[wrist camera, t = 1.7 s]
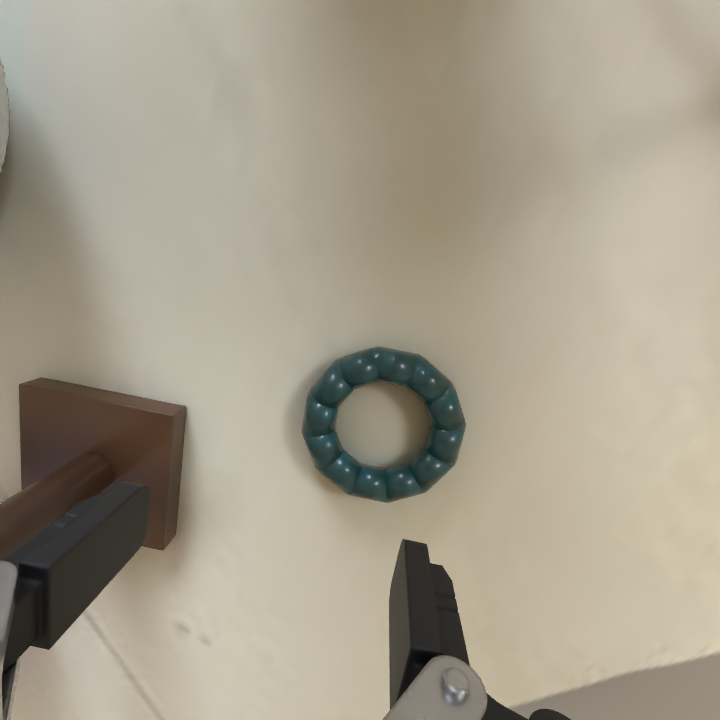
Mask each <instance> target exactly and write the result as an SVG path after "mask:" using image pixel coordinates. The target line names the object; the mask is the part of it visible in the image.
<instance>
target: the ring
mask: <svg viewBox="0 0 720 720" xmlns="http://www.w3.org/2000/svg"><path fill="white" fill-rule="evenodd" d="M378 381H380V382H385V383H391V384H396V385H401V386H405V387H406V388H408V389H409V390H410V391H411V392H412V393H413V394H415V395H416V396H417V397H418V398H419V399H420V400H422V401H423V402H424V404H425V407H426V410H427V413H428V416H429V419H430V422H431V427H430V432H429V436H428V440H427V444H426V446H425V447H424V448H423V449H422V450H421V451H420V452H419V453H418V454H417V455H416V456H415V457H414V458H413V459H412V460H411V461H410V462H409V463H406V464H402V465H399V466H395V467H392V468H388V469H382V468H377V467H372V466H367V465H362V464H360V463H359V462H358V461H357V460H355V459H354V458H353V457H352V456H350V455H349V454H348V453H347V452H346V451H344V450H343V448H342V446H341V443H340V441H339V438H338V436H337V433H336V430H335V424H336V418H337V413H338V407H339V406H340V405H341V404H342V402H343V401H344V400H345V399H346V398H347V397H348V396H349V395H350V394H351V392H352V391H353V390H354V389H356V388H360V387H363V386H366V385H369V384H372V383H375V382H378ZM465 427H466V423H465V419H464V416H463V412H462V409H461V406H460V403H459V400H458V396H457V393H456V390H455V387H454V385H453V383H452V382H451V381H450V380H449V379H447V378H446V377H445V376H444V375H443V374H442V373H441V372H439V371H438V370H437V369H436V368H435V367H434V366H433V365H431V364H430V363H429V362H428V361H427V360H426V359H424V358H423V357H422V356H420V355H417V354H413V353H408V352H402V351H397V350H392V349H387V348H382V347H374V348H371V349H368V350H365V351H362V352H359V353H356V354H353V355H350V356H347V357H344V358H341V359H338V360H337V361H335V362H334V363H333V364H332V365H331V366H330V367H329V368H328V370H327V371H326V372H325V373H324V374H323V375H322V377H321V378H320V379H319V380H318V381H317V382H316V383H315V385H314V386H313V387H312V388H311V389H310V391H309V393H308V396H307V401H306V407H305V413H304V420H303V426H302V434H303V438H304V440H305V442H306V445H307V447H308V450H309V452H310V455H311V457H312V460H313V462H314V465H315V467H316V469H317V470H318V471H319V472H320V473H321V474H322V475H324V476H325V477H326V478H327V479H329V480H330V481H331V482H332V483H334V484H335V485H336V486H337V487H339V488H340V489H341V490H342V491H344V492H345V493H346V494H348V495H351V496H356V497H361V498H365V499H370V500H375V501H380V502H386V503H388V502H393V501H397V500H400V499H404V498H408V497H411V496H415V495H418V494H422V493H425V492H427V491H428V490H429V489H430V488H431V487H432V486H433V485H434V484H436V483H437V482H438V481H439V480H440V479H441V478H442V477H443V476H444V475H445V474H446V473H447V472H448V471H449V470H450V469H451V468H452V467H453V466H454V465H455V463H456V461H457V457H458V453H459V450H460V446H461V442H462V439H463V435H464V431H465Z"/></svg>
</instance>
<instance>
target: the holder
mask: <svg viewBox="0 0 720 720" xmlns="http://www.w3.org/2000/svg"><path fill="white" fill-rule="evenodd" d="M19 401H20V441H21V482H22V491H20V492H19V493H17V494H15V495H14V496H12V497H10V498H9V499H7V500H6V501H4V502H2V503H1V504H0V561H2V560H3V559H4V558H6V557H7V556H9V555H10V554H11V553H13V552H14V551H15V550H17V549H18V548H19V547H21V546H22V545H23V544H25V543H26V542H27V541H29V540H30V539H31V538H33V537H34V536H35V535H37V534H38V533H39V532H41V531H42V530H43V529H45V528H46V527H47V526H51V525H52V523H53V522H54V521H55V520H57V519H58V518H59V517H61V516H64V514H65V513H66V512H67V511H69V510H70V509H71V508H73V507H74V506H75V505H77V504H78V503H79V502H81V501H84V500H86V499H88V498H91V497H93V496H95V495H98V494H103V495H105V494H106V493H107V492H108V491H110V490H111V489H112V488H113V487H115V486H116V485H117V484H119V483H120V482H122V481H127V482H132V483H137V484H142V485H147V486H149V488H150V504H149V519H148V530H147V534H146V537H145V540H144V542H143V544H142V545H141V546H144V547H149V548H154V549H159V550H164V549H165V548H166V546H167V545H168V544H169V543H170V541H171V540H172V539H173V538H174V536H175V535H176V526H177V514H178V502H179V490H180V478H181V466H182V454H183V442H184V430H185V418H186V407H185V406H181V405H176V404H171V403H166V402H161V401H156V400H151V399H146V398H141V397H136V396H131V395H126V394H121V393H116V392H111V391H106V390H101V389H96V388H91V387H86V386H81V385H76V384H71V383H66V382H61V381H56V380H52V379H47V378H38V379H35V380H31V381H28V382H25V383H22V384H20V385H19Z"/></svg>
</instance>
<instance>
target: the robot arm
mask: <svg viewBox="0 0 720 720" xmlns="http://www.w3.org/2000/svg"><path fill="white" fill-rule="evenodd" d="M149 504H150V488H149V486H147V485H142V484H137V483H132V482H127V481H122V482H120V483H119V484H117V485H116V486H115V487H113V488H112V489H111V490H110V491H108V492H107V493H106V494H105V495H103V494H98V495H95V496H93V497H91V498H88V499H86V500H84V501H81V502H79V503H78V504H77V505H75V506H74V507H73V508H71V509H70V510H69V511H67V512H66V513H65V514H64V516H61V517H59V518H58V519H57V520H55V521H54V522H53V523H52V525H51V526H47V527H46V528H45V529H43V530H42V531H41V532H39V533H38V534H37V535H35V536H34V537H33V538H31V539H30V540H29V541H27V542H26V543H25V544H23V545H22V546H21V547H19V548H18V549H17V550H15V551H14V552H13V553H11V554H10V555H9V556H7V557H6V558H4V559H3V560H2V561H0V720H10V719H11V713H12V707H13V700H14V694H15V688H16V682H17V676H18V670H19V657H20V656H21V655H22V654H23V653H24V652H25V651H26V650H27V648H28V647H29V646H34V647H39V648H43V649H48V650H49V649H50V648H51V647H52V646H53V645H54V644H55V643H56V641H57V640H58V639H59V638H60V637H61V636H62V635H63V634H64V633H65V631H66V630H67V629H68V628H69V627H70V626H71V625H72V624H73V623H74V621H75V620H76V619H77V618H78V617H79V616H80V615H81V614H82V612H83V611H84V610H85V609H86V608H87V607H88V606H89V605H90V604H91V602H92V601H93V600H94V599H95V598H96V597H97V596H98V595H99V593H100V592H101V591H102V590H103V589H104V588H105V587H106V586H107V585H108V583H109V582H110V581H111V580H112V579H113V578H114V577H115V576H116V575H117V573H118V572H119V571H120V570H121V569H122V568H123V567H124V566H125V564H126V563H127V562H128V561H129V560H130V559H131V558H132V557H133V556H134V554H135V553H136V552H137V551H138V550H139V549H140V547H141V545H142V544H143V542H144V540H145V537H146V534H147V530H148V519H149ZM389 649H390V711H389V712H388V713H387V715H386V716H385V717H384V718H383V720H528V719H526V718H524V717H523V716H521V715H519V714H517V713H515V712H514V711H512V710H510V709H508V708H506V707H505V706H503V705H501V704H500V703H498V702H497V701H495V700H494V699H493V698H491V697H490V696H489V695H488V694H487V693H486V690H485V687H484V685H483V683H482V681H481V679H480V678H479V676H478V675H477V673H476V672H475V671H474V670H473V669H472V668H471V667H470V664H469V660H468V655H467V650H466V645H465V641H464V636H463V631H462V626H461V622H460V617H459V613H458V607H457V603H456V599H455V593H454V588H453V584H452V580H451V578H450V577H449V575H448V574H447V572H446V571H445V569H444V568H443V566H441V565H436V564H432V563H430V560H429V554H428V547H427V544H424V543H419V542H415V541H410V540H405V539H403V540H402V542H401V545H400V549H399V553H398V557H397V561H396V566H395V570H394V574H393V578H392V583H391V589H390V598H389ZM529 720H570V719H569V718H567V717H566V716H565V715H563V714H561V713H559V712H556V711H553V710H550V709H540V710H537V711H535V712H533V713H532V715H531V716H530V718H529Z"/></svg>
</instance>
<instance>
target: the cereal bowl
mask: <svg viewBox="0 0 720 720" xmlns="http://www.w3.org/2000/svg"><path fill="white" fill-rule="evenodd" d="M3 68H4V66H3V64H2V62H1V59H0V173H1V166H2V164H3V163H4V157H5V155H6V146H7V139H8V136H9V130H8V126H9V120H8V118H9V114H10V113H9V109H8V101H9V99H8V96H7V95H8V89H7V87H6V83H5V72H4V70H3Z"/></svg>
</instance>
